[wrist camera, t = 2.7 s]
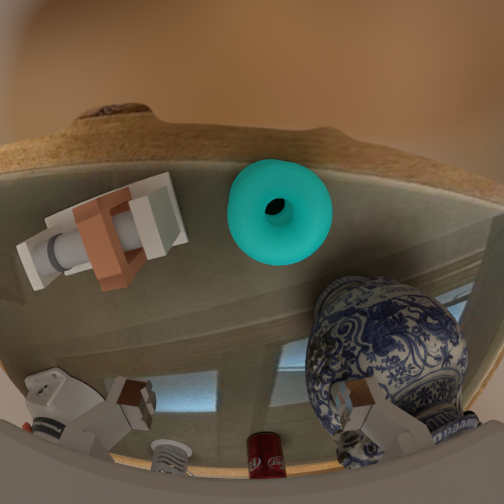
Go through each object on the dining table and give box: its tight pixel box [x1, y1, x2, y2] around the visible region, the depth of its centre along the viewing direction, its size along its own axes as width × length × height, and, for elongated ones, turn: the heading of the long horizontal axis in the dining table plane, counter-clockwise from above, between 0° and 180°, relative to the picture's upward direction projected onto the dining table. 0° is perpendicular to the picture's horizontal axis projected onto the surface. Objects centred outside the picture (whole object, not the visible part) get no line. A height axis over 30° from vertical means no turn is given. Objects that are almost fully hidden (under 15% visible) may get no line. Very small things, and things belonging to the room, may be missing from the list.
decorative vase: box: [305, 275, 482, 470], centre depth 28 cm, size 21×19×28 cm
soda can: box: [247, 432, 287, 479], centre depth 46 cm, size 7×7×12 cm
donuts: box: [227, 159, 333, 266], centre depth 30 cm, size 10×10×10 cm
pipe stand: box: [16, 171, 189, 291], centre depth 30 cm, size 20×9×9 cm, turn 103°
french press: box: [151, 439, 194, 476], centre depth 40 cm, size 10×12×25 cm
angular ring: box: [72, 187, 147, 292], centre depth 28 cm, size 3×9×8 cm, turn 13°
